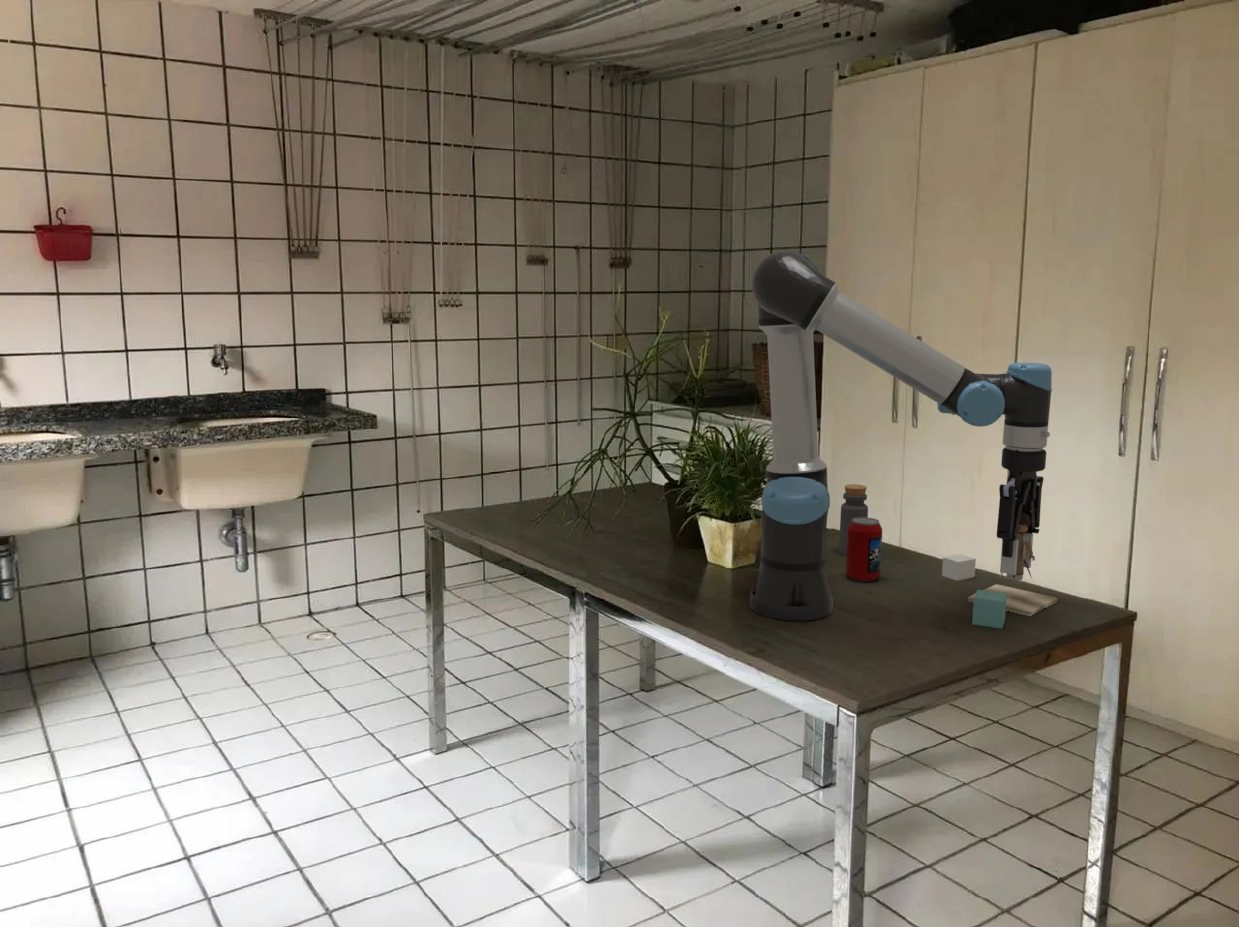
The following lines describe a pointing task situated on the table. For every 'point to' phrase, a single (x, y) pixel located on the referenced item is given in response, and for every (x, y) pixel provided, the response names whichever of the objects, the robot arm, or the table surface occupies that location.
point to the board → (1021, 600)
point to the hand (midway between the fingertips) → (1015, 569)
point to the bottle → (851, 511)
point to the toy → (1022, 547)
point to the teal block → (989, 609)
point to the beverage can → (864, 549)
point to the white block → (958, 567)
